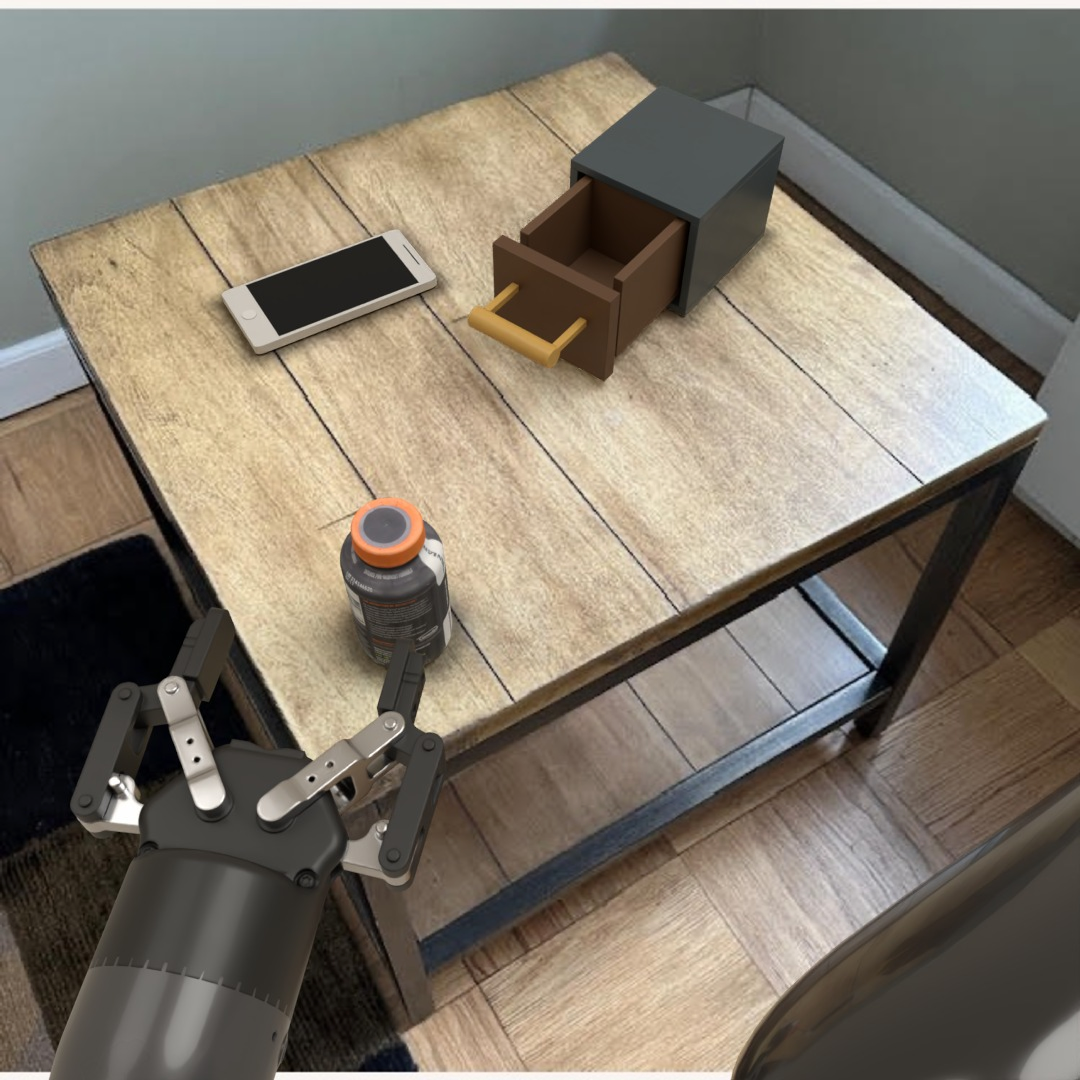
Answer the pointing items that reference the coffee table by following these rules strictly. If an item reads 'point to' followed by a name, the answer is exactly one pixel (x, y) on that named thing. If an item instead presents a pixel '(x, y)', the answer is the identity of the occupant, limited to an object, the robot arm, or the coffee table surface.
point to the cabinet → (691, 178)
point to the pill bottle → (396, 580)
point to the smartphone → (328, 290)
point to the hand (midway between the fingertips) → (314, 631)
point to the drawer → (584, 278)
